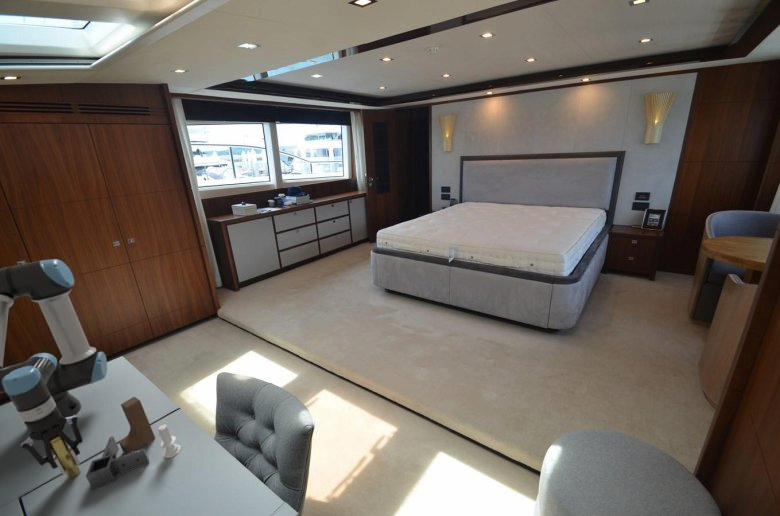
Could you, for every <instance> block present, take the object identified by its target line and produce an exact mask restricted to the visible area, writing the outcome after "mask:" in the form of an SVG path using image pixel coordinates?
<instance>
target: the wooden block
mask: <svg viewBox="0 0 780 516" xmlns="http://www.w3.org/2000/svg"><path fill="white" fill-rule="evenodd" d="M120 406H121V408H122V411H123V413H124V416H125V418H126V420H127V423H128V424H129V432H128V434H127V435H126V436H125V437H124V438H123V439H121V440H120V441H119V446H120V448H121V450H122V453H124V455H126V454H128V453H131V452H134V451H137V450H140V449H143V448H144V447H145V446H146V445H148V444H149V443H151V442H152V441H153V440H155V439H156V436H155V434H154V431H153V428H152V426H151V423H150V421H149V419H148V416H147V414H146V412H145V409H144V406H143V404H142V402H141V400H140V399H138V398H137V396H132V397H131V398H129V399H127V400H125V401H124V402H122V403H121V404H120Z"/></svg>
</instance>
